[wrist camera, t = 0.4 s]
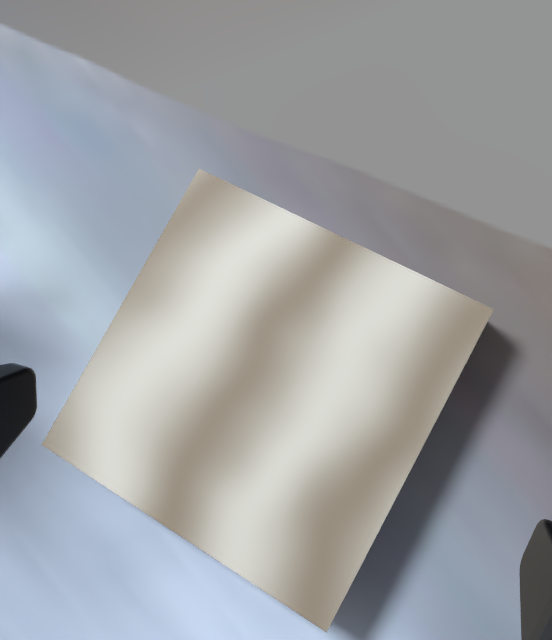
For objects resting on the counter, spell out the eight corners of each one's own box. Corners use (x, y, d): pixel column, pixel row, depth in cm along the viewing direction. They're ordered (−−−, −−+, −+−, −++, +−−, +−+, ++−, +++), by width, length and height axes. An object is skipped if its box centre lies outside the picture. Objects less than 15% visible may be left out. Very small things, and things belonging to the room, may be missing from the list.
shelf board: (482, 317, 23) (493, 309, 21) (329, 612, 22) (326, 632, 20) (211, 186, 26) (199, 168, 24) (66, 441, 25) (41, 444, 23)
